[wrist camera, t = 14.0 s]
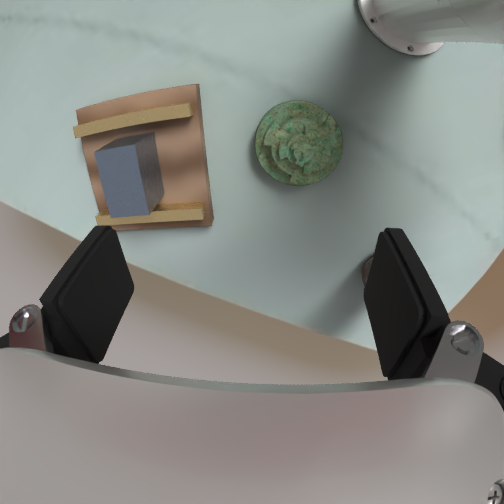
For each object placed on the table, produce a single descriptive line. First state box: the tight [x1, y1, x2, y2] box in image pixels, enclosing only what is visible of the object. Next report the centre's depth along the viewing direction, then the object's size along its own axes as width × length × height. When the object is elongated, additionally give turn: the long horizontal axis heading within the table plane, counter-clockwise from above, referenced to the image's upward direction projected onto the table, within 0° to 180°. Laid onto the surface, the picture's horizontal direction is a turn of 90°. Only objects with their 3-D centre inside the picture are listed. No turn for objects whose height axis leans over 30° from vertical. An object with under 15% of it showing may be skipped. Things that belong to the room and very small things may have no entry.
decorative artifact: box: [255, 100, 343, 186], centre depth 30 cm, size 10×7×10 cm
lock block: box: [94, 132, 165, 218], centre depth 31 cm, size 8×5×6 cm, turn 3°
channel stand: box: [73, 84, 214, 231], centre depth 33 cm, size 18×16×4 cm
